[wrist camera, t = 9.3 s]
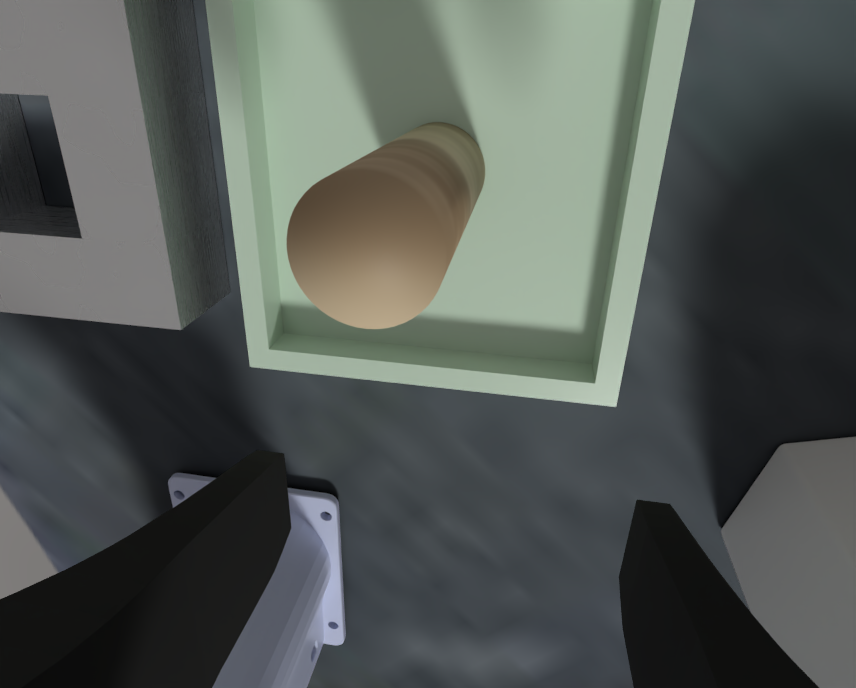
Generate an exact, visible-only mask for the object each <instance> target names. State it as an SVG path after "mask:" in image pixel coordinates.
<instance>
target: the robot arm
mask: <svg viewBox="0 0 856 688" xmlns="http://www.w3.org/2000/svg"><path fill="white" fill-rule="evenodd" d="M168 487H169V491H170V496H171V501H172V506H173V508H172V509H171V510H169V511H167V512H166V513H164V514H163V515H161V516H159V517H158V518H156V519H155V520H153V521H151V522H150V523H148V524H147V525H145V526H143V527H142V528H140V529H139V530H137V531H135V532H134V533H132V534H131V535H129V536H127V537H126V538H124V539H122V540H120V541H119V542H117V543H115V544H113V545H112V546H110V547H108V548H106V549H104V550H103V551H101V552H99V553H97V554H95V555H93V556H91V557H89V558H87V559H86V560H84V561H82V562H80V563H78V564H76V565H74V566H72V567H70V568H68V569H66V570H64V571H62V572H60V573H57V574H55V575H53V576H51V577H49V578H47V579H44V580H42V581H40V582H38V583H36V584H34V585H32V586H29V587H27V588H25V589H23V590H21V591H18V592H16V593H14V594H12V595H9V596H7V597H5V598H2V599H0V688H307V686H308V683H309V680H310V678H311V675H312V672H313V670H314V667H315V664H316V662H317V659H318V656H319V654H320V651H321V648H322V646H323V643H325V644H331V645H341V644H342V643H343V642H344V639H345V636H346V630H345V611H344V592H343V573H342V554H341V535H340V516H339V503H338V500H337V499H336V497H334V496H333V495H331V494H328V493H321V492H314V491H307V490H300V489H293V488H287V478H286V468H285V458H284V454H283V453H275V452H267V451H260V450H256V451H255V452H253V453H252V454H250V455H249V456H247V457H246V458H244V459H243V460H241V461H240V462H239V463H237V464H236V465H234V466H233V467H231V468H230V469H229V470H227V471H226V472H224V473H223V474H222V475H220V476H219V477H217V478H214V477H206V476H199V475H192V474H185V473H175V474H173V475H172V476H171V478H170V479H169V480H168ZM180 491H181V492H182V493H181V492H180ZM183 493H184V494H183ZM325 512H328V513H330V514H331V515H328V514H326V513H325ZM619 583H620V599H621V613H622V625H623V632H624V638H625V643H626V649H627V654H628V659H629V664H630V670H631V675H632V680H633V685H634V688H819V687H818V686H817V685H816V684H815V683H814V682H813V681H812V680H811V679H810V678H809V677H808V676H807V674H806V673H805V672H804V671H803V670H802V669H801V668H800V667H799V666H798V665H797V664H796V663H795V662H794V661H793V660H792V659H791V658H790V657H789V656H788V655H787V654H786V653H785V651H784V650H783V649H782V648H781V647H780V646H779V645H778V644H777V643H776V641H775V640H774V639H773V638H772V637H771V636H770V634H769V633H768V632H767V631H766V630H765V629H764V627H763V626H762V625H761V624H760V623H759V622H758V620H757V619H756V618H755V617H754V616H753V614H752V613H751V612H750V611H749V610H748V608H747V607H746V606H745V605H744V603H743V602H742V601H741V600H740V598H739V597H738V596H737V595H736V593H735V592H734V591H733V589H732V588H731V587H730V586H729V584H728V583H727V582H726V580H725V579H724V578H723V577H722V575H721V574H720V573H719V571H718V570H717V569H716V567H715V566H714V565H713V563H712V562H711V561H710V559H709V558H708V557H707V555H706V554H705V552H704V551H703V550H702V548H701V547H700V546H699V544H698V543H697V541H696V540H695V538H694V537H693V536H692V534H691V533H690V531H689V530H688V529H687V527H686V526H685V524H684V523H683V521H682V520H681V519H680V517H679V516H678V514H677V513H676V511H675V510H674V509H673V508H672V506H671V505H670V504H666V503H658V502H650V501H643V500H637V501H636V505H635V510H634V514H633V518H632V523H631V527H630V531H629V536H628V540H627V544H626V549H625V553H624V557H623V562H622V566H621V570H620V575H619Z"/></svg>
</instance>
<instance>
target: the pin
mask: <svg viewBox="0 0 856 688" xmlns="http://www.w3.org/2000/svg"><path fill="white" fill-rule="evenodd" d="M484 181H485V162H484V158H483V155H482V152H481V150H480V148H479V146H478V144H477V143H476V142H475V140H474V139H473V138H472V137H471V136H470V135H469V134H468V133H467V132H466V131H464V130H463V129H461V128H459V127H457V126H455V125H453V124H449V123H444V122H432V123H427V124H423V125H421V126H419V127H417V128H415V129H413V130H411V131H409V132H407V133H405V134H404V135H402V136H400V137H398V138H396V139H395V140H393V141H391V142H389V143H387V144H385V145H384V146H382V147H380V148H378V149H376V150H374V151H373V152H371V153H369V154H367V155H365V156H364V157H362V158H360V159H358V160H356V161H354V162H353V163H351V164H349V165H347V166H345V167H343V168H342V169H340V170H338V171H336V172H334V173H332V174H331V175H329V176H327V177H325V178H323V179H322V180H320V181H319V182H317V183H316V184H314V185H313V186H312V187H311V188H310V189H308V190H307V191H306V192H305V193H304V195H303V196H302V197H301V198H300V200H299V201H298V203H297V205H296V206H295V208H294V210H293V212H292V215H291V217H290V221H289V225H288V229H287V238H286V239H287V254H288V260H289V263H290V267H291V270H292V272H293V275H294V277H295V279H296V281H297V283H298V285H299V287H300V288H301V290H302V291H303V292H304V294H305V295H306V296H307V297H308V299H309V300H310V301H311V302H312V303H313V304H314V305H315V306H316V307H317V308H319V309H320V310H321V311H322V312H324V313H325V314H327V315H328V316H330V317H331V318H333V319H335V320H337V321H339V322H342V323H344V324H347V325H350V326H353V327H357V328H364V329H384V328H390V327H394V326H397V325H400V324H403V323H405V322H407V321H409V320H411V319H413V318H414V317H416V316H417V315H418V314H420V313H421V312H422V311H423V310H424V309H425V308H426V307H427V306H428V305H429V304H430V302H431V301H432V300H433V299H434V297H435V295H436V294H437V292H438V290H439V288H440V286H441V283H442V281H443V279H444V276H445V274H446V272H447V269H448V267H449V265H450V262H451V260H452V258H453V255H454V253H455V251H456V249H457V246H458V244H459V242H460V239H461V237H462V235H463V232H464V230H465V228H466V225H467V223H468V221H469V218H470V216H471V214H472V211H473V209H474V207H475V205H476V202H477V200H478V198H479V195H480V193H481V190H482V188H483V185H484Z"/></svg>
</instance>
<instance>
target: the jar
mask: <svg viewBox="0 0 856 688" xmlns="http://www.w3.org/2000/svg"><path fill="white" fill-rule="evenodd" d="M721 535H722V538H723V541H724V543H725V546H726V549H727V551H728V554H729V557H730V559H731V562H732V565H733V567H734V570H735V573H736V576H737V578H738V581H739V584H740V586H741V589H742V592H743V594H744V597H745V600H746V602H747V605H748V608H749V610H750V612H751V613H752V614H753V616H754V617H755V618H756V619H757V620H758V622H759V623H760V624H761V625H762V626H763V627H764V629H765V630H766V631H767V632H768V633H769V634H770V636H771V637H772V638H773V639H774V640H775V641H776V643H777V644H778V645H779V646H780V647H781V648H782V649H783V650H784V651H785V653H786V654H787V655H788V656H789V657H790V658H791V659H792V660H793V661H794V662H795V663H796V664H797V665H798V666H799V667H800V668H801V669H802V670H803V671H804V672H805V673H806V674H807V676H808V677H809V678H810V679H811V680H812V681H813V682H814V683H815V684H816V685H817V686H818V687H819V688H856V436H855V437H845V438H835V439H825V440H815V441H805V442H795V443H785V444H782V445H780V446H779V447H778V448H777V450H776V451H775V453H774V454H773V456H772V457H771V458H770V460H769V461H768V463H767V464H766V466H765V467H764V469H763V470H762V472H761V473H760V474H759V476H758V477H757V479H756V480H755V482H754V483H753V484H752V486H751V487H750V489H749V490H748V492H747V493H746V495H745V496H744V497H743V499H742V500H741V502H740V503H739V505H738V506H737V508H736V509H735V510H734V512H733V513H732V515H731V516H730V517H729V519H728V520H727V522H726V523H725V525H724V526H723V527H722V530H721Z"/></svg>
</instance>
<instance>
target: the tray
mask: <svg viewBox="0 0 856 688" xmlns="http://www.w3.org/2000/svg"><path fill="white" fill-rule="evenodd" d="M205 3H206V11H207V19H208V27H209V36H210V44H211V52H212V60H213V68H214V76H215V85H216V93H217V101H218V109H219V117H220V126H221V134H222V142H223V150H224V158H225V167H226V175H227V183H228V191H229V199H230V208H231V216H232V224H233V232H234V240H235V249H236V257H237V265H238V273H239V281H240V290H241V298H242V306H243V314H244V322H245V330H246V339H247V347H248V355H249V363H250V367H256V368H265V369H274V370H283V371H292V372H302V373H311V374H320V375H329V376H338V377H347V378H356V379H366V380H375V381H384V382H393V383H402V384H411V385H420V386H429V387H439V388H448V389H457V390H466V391H475V392H484V393H493V394H503V395H512V396H521V397H530V398H539V399H548V400H557V401H567V402H576V403H585V404H594V405H603V406H612V407H616V405H617V400H618V395H619V389H620V384H621V379H622V374H623V369H624V364H625V359H626V353H627V348H628V343H629V338H630V333H631V328H632V322H633V317H634V312H635V307H636V302H637V297H638V292H639V286H640V281H641V276H642V271H643V266H644V261H645V255H646V250H647V245H648V240H649V235H650V230H651V225H652V219H653V214H654V209H655V204H656V199H657V194H658V188H659V183H660V178H661V173H662V168H663V163H664V157H665V152H666V147H667V142H668V137H669V132H670V127H671V121H672V116H673V111H674V106H675V101H676V96H677V90H678V85H679V80H680V75H681V70H682V65H683V60H684V54H685V49H686V44H687V39H688V34H689V29H690V23H691V18H692V13H693V8H694V3H695V0H205ZM432 122H444V123H449V124H453V125H455V126H457V127H459V128H461V129H463V130H464V131H466V132H467V133H468V134H469V135H470V136H471V137H472V138H473V139H474V140H475V142H476V143H477V144H478V146H479V148H480V150H481V152H482V155H483V158H484V162H485V181H484V185H483V188H482V190H481V193H480V195H479V198H478V200H477V202H476V205H475V207H474V209H473V211H472V214H471V216H470V218H469V221H468V223H467V225H466V228H465V230H464V232H463V235H462V237H461V239H460V242H459V244H458V246H457V249H456V251H455V253H454V255H453V258H452V260H451V262H450V265H449V267H448V269H447V272H446V274H445V276H444V279H443V281H442V283H441V286H440V288H439V290H438V292H437V294H436V295H435V297H434V299H433V300H432V301H431V302H430V304H429V305H428V306H427V307H426V308H425V309H424V310H423V311H422V312H421V313H420V314H418V315H417V316H416V317H414V318H413V319H411V320H409V321H407V322H405V323H403V324H400V325H397V326H394V327H390V328H384V329H364V328H357V327H353V326H350V325H347V324H344V323H342V322H339V321H337V320H335V319H333V318H331V317H330V316H328V315H327V314H325V313H324V312H322V311H321V310H320V309H319V308H317V307H316V306H315V305H314V304H313V303H312V302H311V301H310V300H309V299H308V297H307V296H306V295H305V294H304V292H303V291H302V290H301V288H300V287H299V285H298V283H297V281H296V279H295V277H294V275H293V272H292V270H291V267H290V263H289V260H288V254H287V239H286V238H287V229H288V225H289V221H290V217H291V215H292V212H293V210H294V208H295V206H296V205H297V203H298V201H299V200H300V198H301V197H302V196H303V195H304V193H305V192H306V191H307V190H308V189H310V188H311V187H312V186H313V185H314V184H316V183H317V182H319V181H320V180H322V179H323V178H325V177H327V176H329V175H331V174H332V173H334V172H336V171H338V170H340V169H342V168H343V167H345V166H347V165H349V164H351V163H353V162H354V161H356V160H358V159H360V158H362V157H364V156H365V155H367V154H369V153H371V152H373V151H374V150H376V149H378V148H380V147H382V146H384V145H385V144H387V143H389V142H391V141H393V140H395V139H396V138H398V137H400V136H402V135H404V134H405V133H407V132H409V131H411V130H413V129H415V128H417V127H419V126H421V125H423V124H427V123H432Z"/></svg>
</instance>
